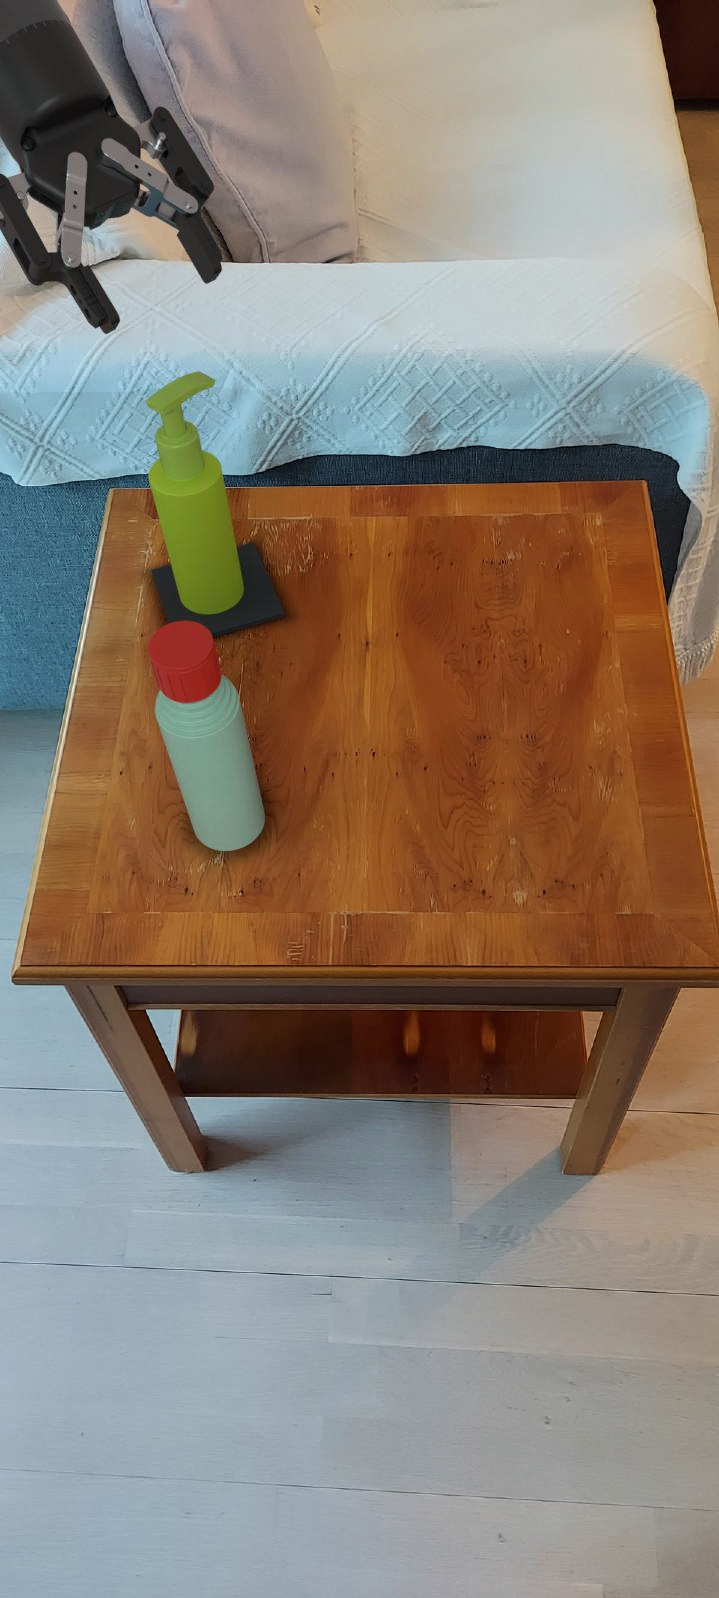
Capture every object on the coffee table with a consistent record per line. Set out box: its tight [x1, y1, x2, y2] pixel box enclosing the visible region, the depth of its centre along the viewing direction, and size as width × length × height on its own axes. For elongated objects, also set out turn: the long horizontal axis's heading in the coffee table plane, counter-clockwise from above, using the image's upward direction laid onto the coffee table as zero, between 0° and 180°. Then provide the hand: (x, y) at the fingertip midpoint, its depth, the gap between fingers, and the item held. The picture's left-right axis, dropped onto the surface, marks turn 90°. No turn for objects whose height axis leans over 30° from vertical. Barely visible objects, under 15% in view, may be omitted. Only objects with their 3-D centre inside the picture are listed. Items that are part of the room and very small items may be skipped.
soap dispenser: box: [145, 370, 244, 614], centre depth 83 cm, size 6×7×20 cm
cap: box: [147, 621, 223, 703], centre depth 62 cm, size 4×4×3 cm
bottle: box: [154, 674, 266, 852], centre depth 70 cm, size 6×6×19 cm
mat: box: [150, 542, 286, 638], centre depth 91 cm, size 10×10×1 cm
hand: (164, 302), depth 68 cm, fingers open, 8 cm apart
